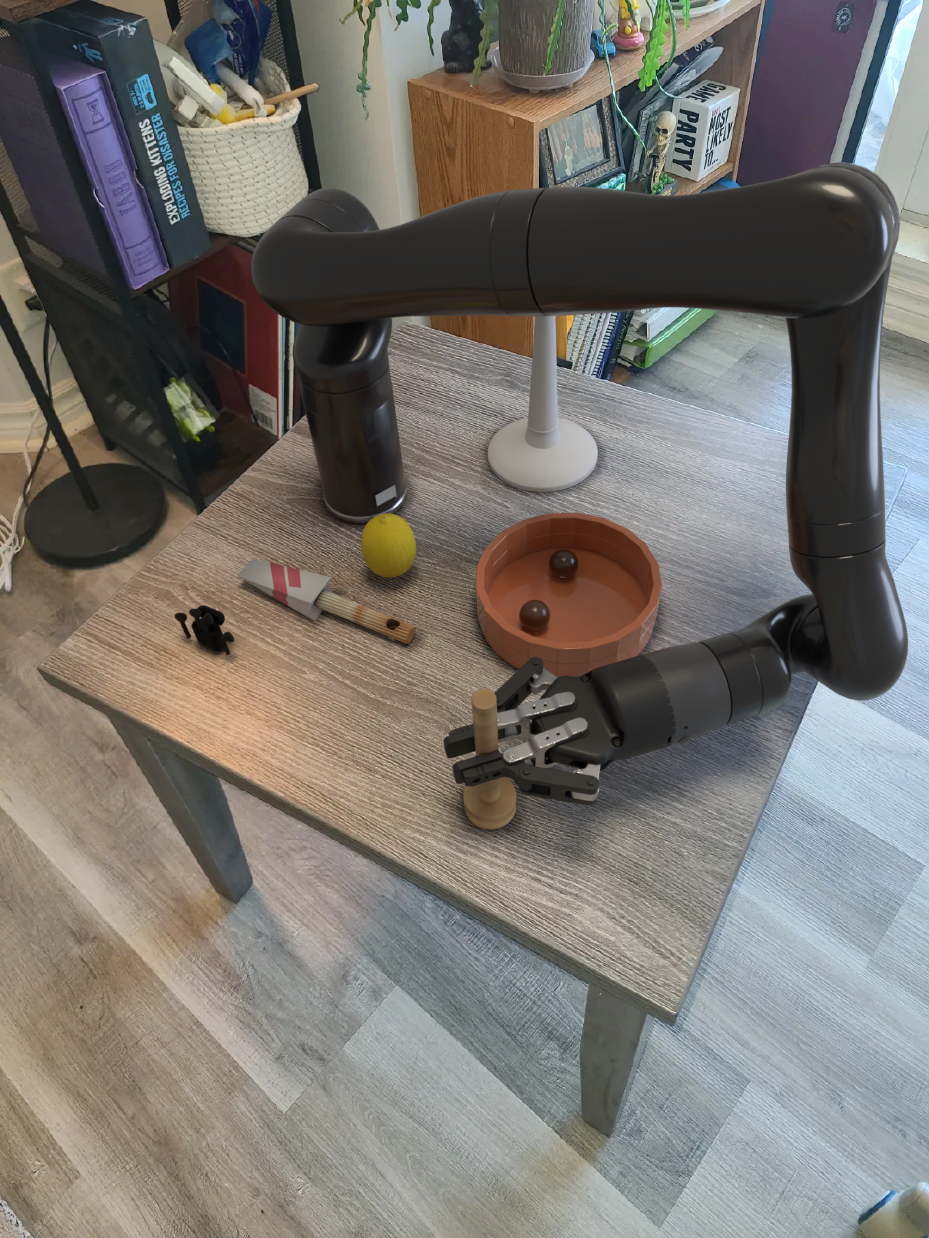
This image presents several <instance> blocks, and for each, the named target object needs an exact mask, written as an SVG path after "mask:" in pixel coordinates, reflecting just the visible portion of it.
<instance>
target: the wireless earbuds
mask: <svg viewBox="0 0 929 1238" xmlns="http://www.w3.org/2000/svg"><path fill="white" fill-rule="evenodd" d="M188 613H189V615H190V616H191V618H193V619H194V620H193V621H192V623H191V625H190V627H191V630H192V632H193V634H194V636H195V638H196V641H197V642H198V644H199V645H201V646H203V647H205V648H207V649H210V650H212V651H214V652H222V651H224V653H225V655H226V656H230V655H231V651H230V648H229V646H228V643H230V644H231V643H234V642H235V637H234V635H233V634H232V633H231V632H230V631H229V630H228V631H227V630H226V632H224V633H223V630H222V628H221V626H223V624H224V623H225V621H226V616H225V614H224V613H223V612H222V611H220V610H217V609H215V608H213V607H211V606H208V605H199V606H198V607H197V608H196V607H195V608H191V609H189V610H188ZM174 618H175V620H176V621H177V622H179V624H180V626H181V629H182V631H183V633H184V636H185V637H186V639H188V640H189V639H191V638H192V635H191V633H190V631H189V628H188V626H187V624H186V621H187V619H188V615H187V614H186V613H185V612H176V613H175V614H174Z"/></svg>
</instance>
